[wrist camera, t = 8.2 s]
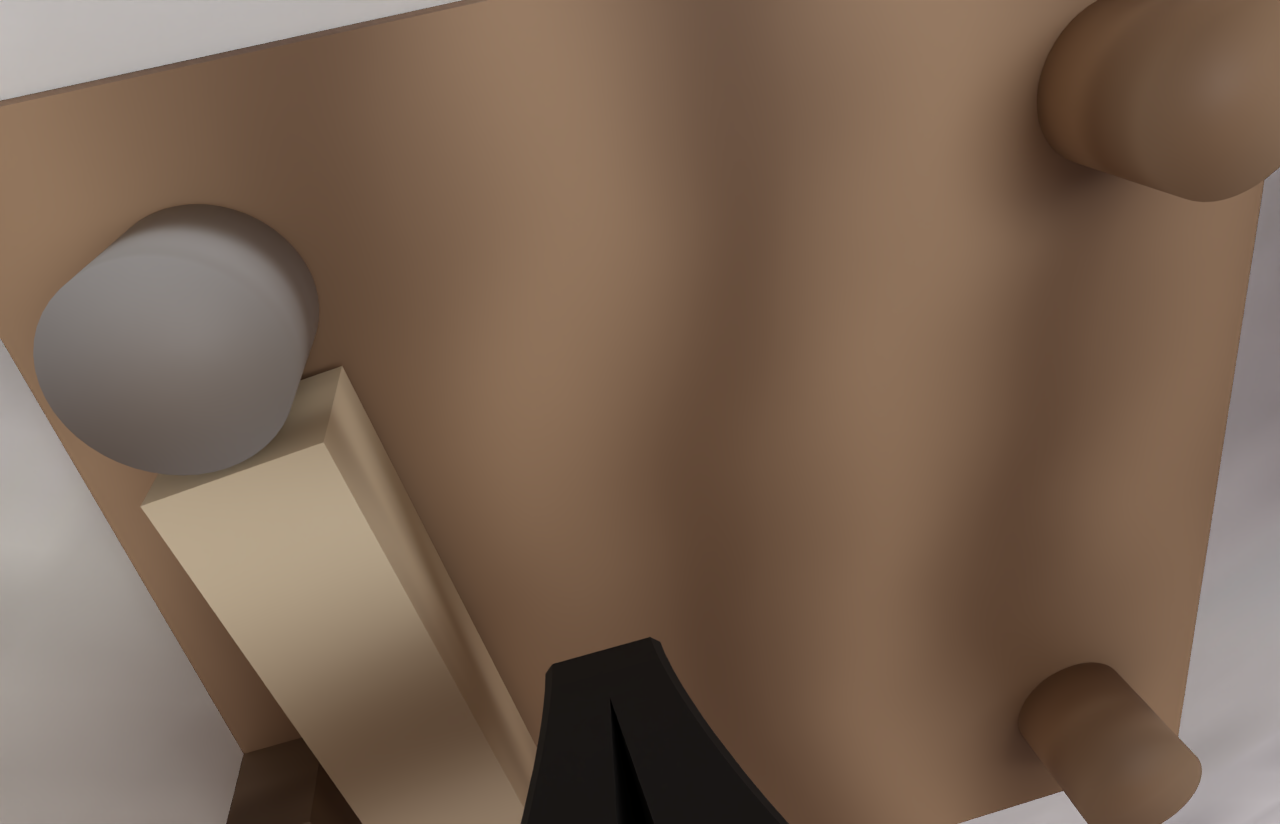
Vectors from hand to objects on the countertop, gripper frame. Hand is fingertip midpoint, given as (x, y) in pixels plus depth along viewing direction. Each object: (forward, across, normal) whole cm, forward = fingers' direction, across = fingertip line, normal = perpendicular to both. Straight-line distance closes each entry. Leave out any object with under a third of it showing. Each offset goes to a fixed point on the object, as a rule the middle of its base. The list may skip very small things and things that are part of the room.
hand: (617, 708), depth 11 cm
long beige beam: (+5, +4, 0) cm, 6 cm away
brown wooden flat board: (+7, -3, +2) cm, 8 cm away
